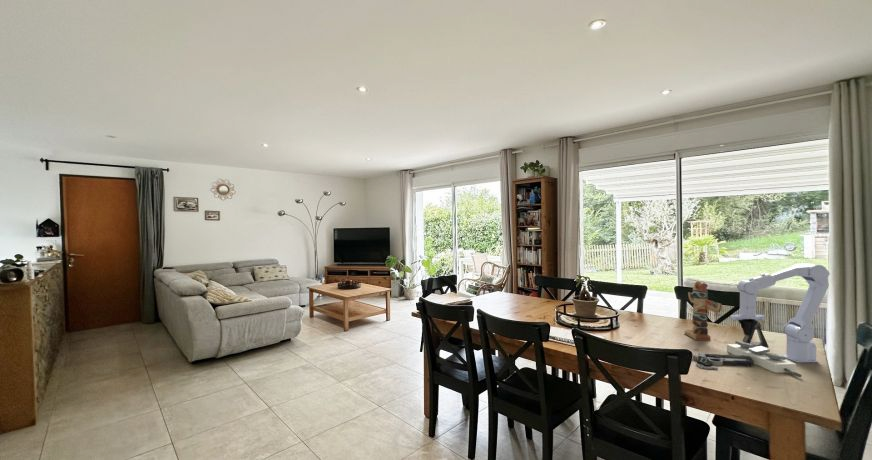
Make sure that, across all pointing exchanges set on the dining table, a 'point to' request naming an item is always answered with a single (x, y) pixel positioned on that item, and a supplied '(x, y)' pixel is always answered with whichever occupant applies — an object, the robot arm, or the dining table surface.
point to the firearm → (721, 360)
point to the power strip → (764, 360)
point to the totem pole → (701, 311)
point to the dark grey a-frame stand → (762, 339)
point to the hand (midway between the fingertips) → (747, 335)
